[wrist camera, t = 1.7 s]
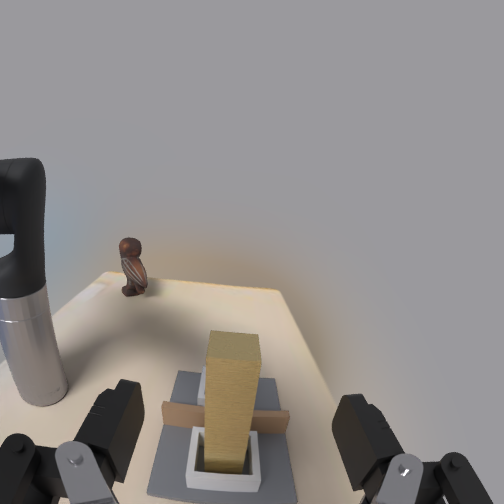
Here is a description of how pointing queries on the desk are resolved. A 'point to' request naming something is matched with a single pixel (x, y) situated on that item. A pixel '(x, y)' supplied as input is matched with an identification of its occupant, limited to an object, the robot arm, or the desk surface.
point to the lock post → (229, 399)
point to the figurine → (132, 267)
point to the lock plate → (192, 451)
